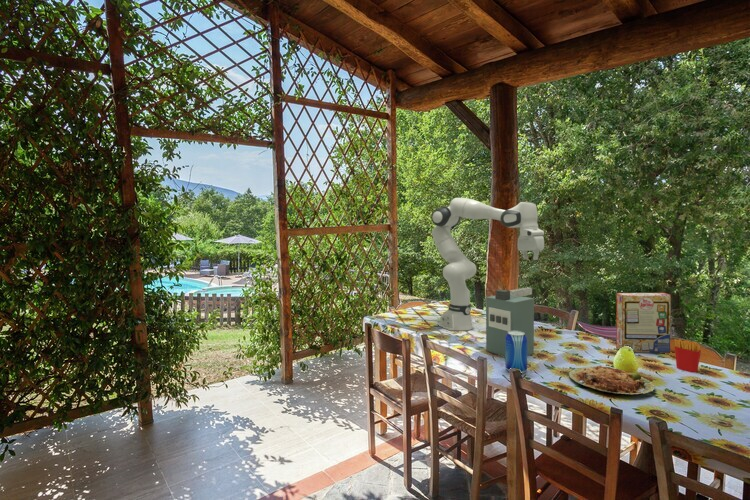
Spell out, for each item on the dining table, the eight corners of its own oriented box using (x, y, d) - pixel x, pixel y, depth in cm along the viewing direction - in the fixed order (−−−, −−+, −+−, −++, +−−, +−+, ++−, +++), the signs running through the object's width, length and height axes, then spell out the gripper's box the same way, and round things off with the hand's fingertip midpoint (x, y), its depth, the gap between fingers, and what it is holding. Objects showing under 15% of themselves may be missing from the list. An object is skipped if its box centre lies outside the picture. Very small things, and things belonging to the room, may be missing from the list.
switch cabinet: (484, 351, 182) (483, 297, 181) (505, 344, 191) (504, 293, 189) (512, 360, 169) (512, 302, 167) (533, 353, 178) (533, 298, 176)
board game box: (663, 349, 179) (664, 292, 177) (670, 354, 173) (672, 295, 171) (615, 348, 182) (616, 292, 180) (621, 352, 176) (622, 294, 174)
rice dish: (568, 367, 163) (567, 355, 163) (646, 375, 151) (646, 361, 151) (569, 394, 138) (569, 380, 138) (663, 406, 126) (663, 389, 125)
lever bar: (495, 298, 177) (495, 290, 177) (524, 293, 189) (524, 285, 189) (504, 300, 173) (504, 291, 173) (533, 294, 185) (533, 286, 185)
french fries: (701, 371, 152) (702, 342, 151) (697, 374, 150) (698, 344, 149) (675, 365, 159) (676, 337, 159) (671, 367, 157) (672, 338, 156)
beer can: (528, 375, 153) (528, 336, 152) (506, 374, 155) (506, 335, 153) (525, 367, 161) (525, 330, 160) (504, 366, 163) (504, 329, 162)
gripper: (513, 233, 206) (515, 259, 206) (533, 232, 185) (535, 260, 185) (524, 233, 206) (526, 258, 206) (546, 231, 186) (547, 259, 186)
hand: (530, 259), depth 196 cm, fingers open, 8 cm apart
